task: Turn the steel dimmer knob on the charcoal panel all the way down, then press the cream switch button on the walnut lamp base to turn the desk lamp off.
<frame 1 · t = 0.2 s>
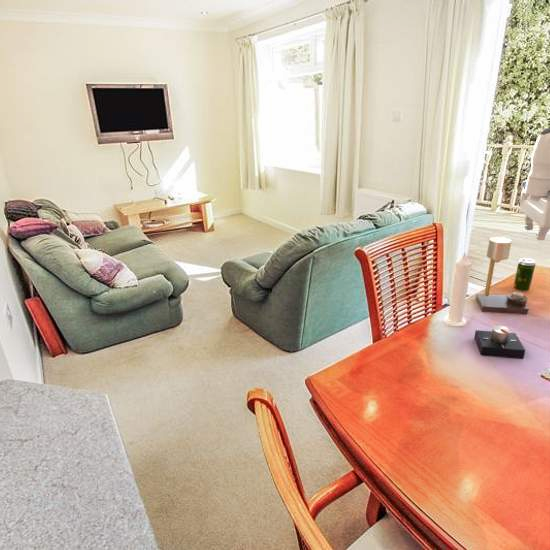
hand: (533, 234, 111), 31 cm above the table, tool pointing down, fingers open, 8 cm apart
lamp base: (500, 306, 134), on the table
dimmer knob: (500, 334, 110), point 5 cm above the table, hinge at 120.0°
desk lamp: (495, 268, 129), on the lamp base, point 14 cm above the table
candle: (454, 322, 127), on the table
dimmer panel: (497, 348, 112), on the table
lamp switch: (517, 295, 131), point 5 cm above the table, slide at 0.2 cm
beer can: (520, 289, 144), on the table
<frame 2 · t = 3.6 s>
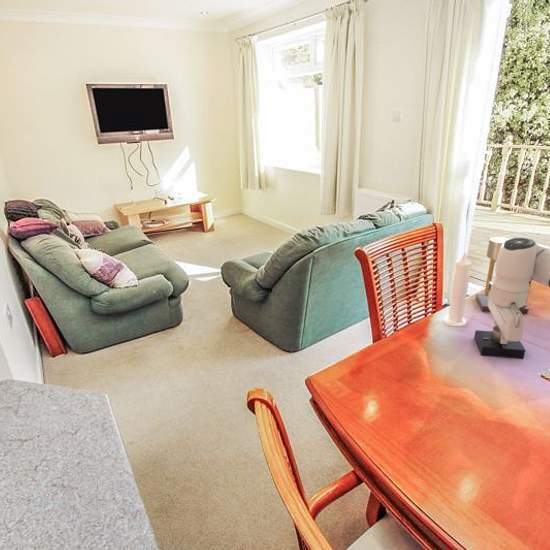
hand: (499, 337, 110), 4 cm above the table, tool pointing down, fingers closed on dimmer knob, 4 cm apart
dimmer knob: (500, 334, 110), point 5 cm above the table, hinge at 119.9°, touching gripper
everything else where it was.
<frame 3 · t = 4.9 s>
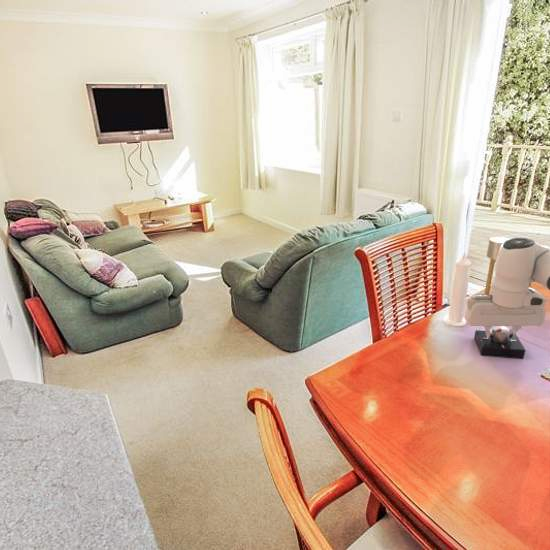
hand: (499, 336, 110), 4 cm above the table, tool pointing down, fingers closed on dimmer knob, 4 cm apart
dimmer knob: (500, 334, 110), point 5 cm above the table, hinge at 37.5°, touching gripper
everything else where it was.
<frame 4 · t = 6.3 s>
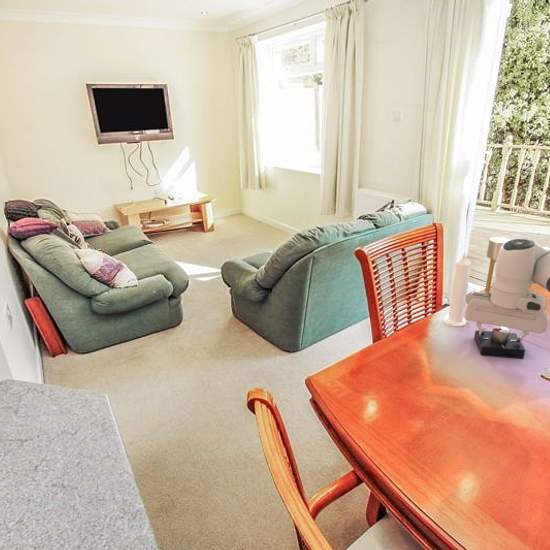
hand: (499, 337, 110), 4 cm above the table, tool pointing down, fingers open, 8 cm apart
dimmer knob: (500, 334, 110), point 5 cm above the table, hinge at 10.3°
everything else where it was.
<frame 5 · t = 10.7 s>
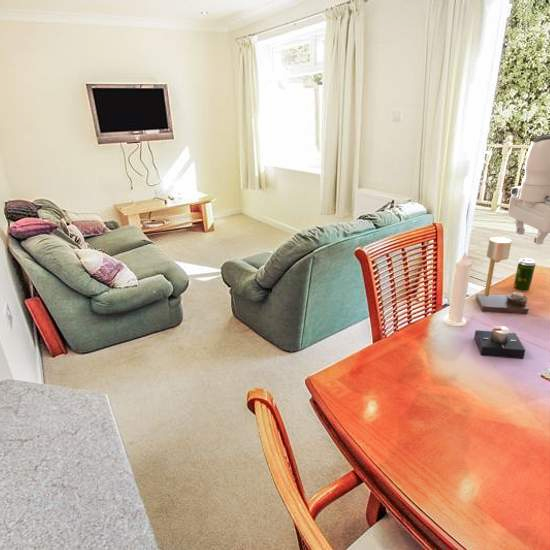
hand: (528, 238, 114), 29 cm above the table, tool pointing down, fingers open, 8 cm apart
nothing on the table moved.
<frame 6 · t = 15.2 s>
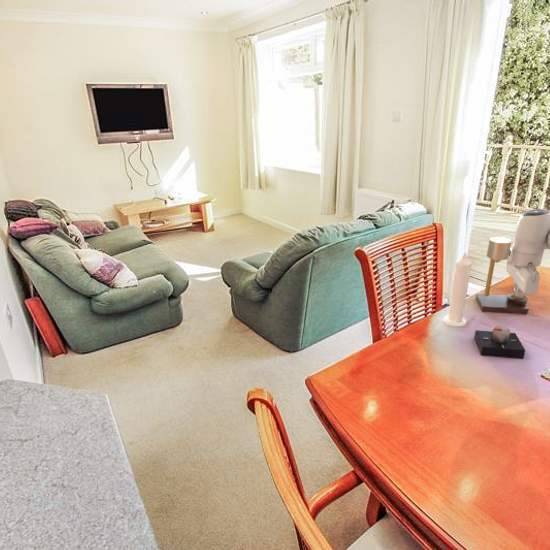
hand: (517, 294, 130), 5 cm above the table, tool pointing down, fingers closed, pressing on lamp switch
lamp switch: (517, 296, 131), point 4 cm above the table, slide at -0.3 cm, touching gripper
everything else where it was.
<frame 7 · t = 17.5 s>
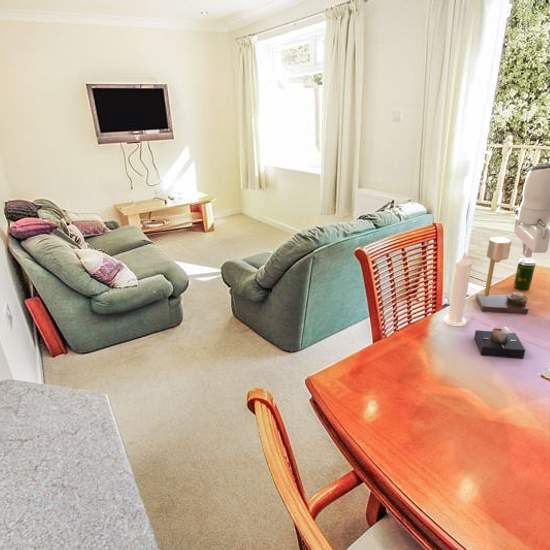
hand: (526, 256, 126), 19 cm above the table, tool pointing down, fingers closed
lamp switch: (517, 295, 131), point 5 cm above the table, slide at 0.1 cm
everything else where it was.
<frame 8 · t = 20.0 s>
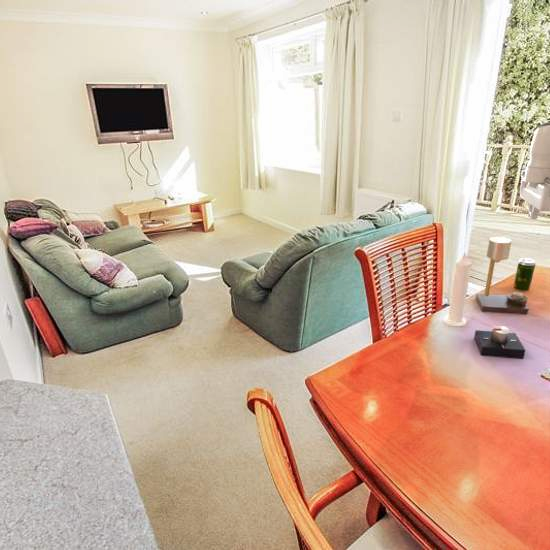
hand: (532, 218, 124), 31 cm above the table, tool pointing down, fingers closed
nothing on the table moved.
at the end: dimmer knob at +10° (first picture: +120°); lamp switch pushed in 1.1 cm at the most during the clip, back to where it started at the end; lamp switch slide at 0.1 cm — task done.
